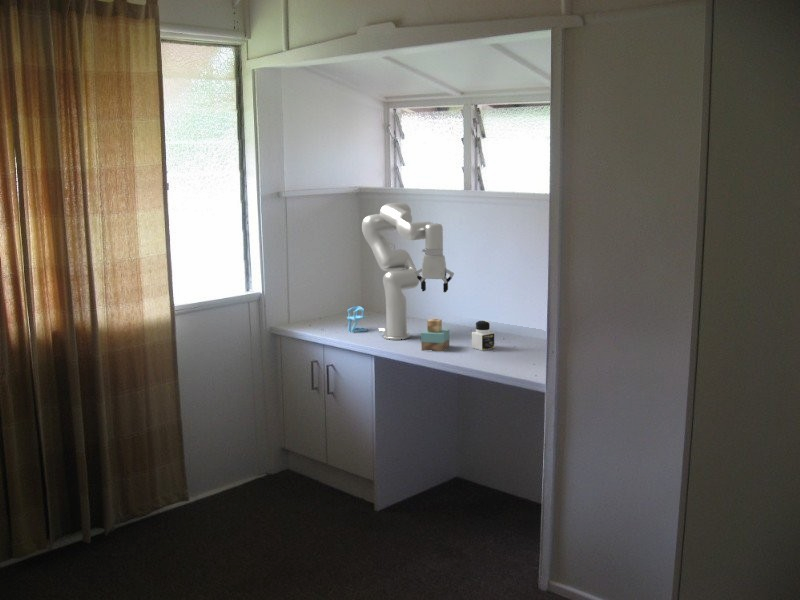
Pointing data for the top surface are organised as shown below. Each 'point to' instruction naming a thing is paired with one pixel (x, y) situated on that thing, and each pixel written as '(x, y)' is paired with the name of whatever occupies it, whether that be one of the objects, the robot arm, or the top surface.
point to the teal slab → (435, 336)
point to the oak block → (434, 325)
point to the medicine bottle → (482, 336)
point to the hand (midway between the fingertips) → (434, 291)
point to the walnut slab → (435, 346)
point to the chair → (355, 319)
